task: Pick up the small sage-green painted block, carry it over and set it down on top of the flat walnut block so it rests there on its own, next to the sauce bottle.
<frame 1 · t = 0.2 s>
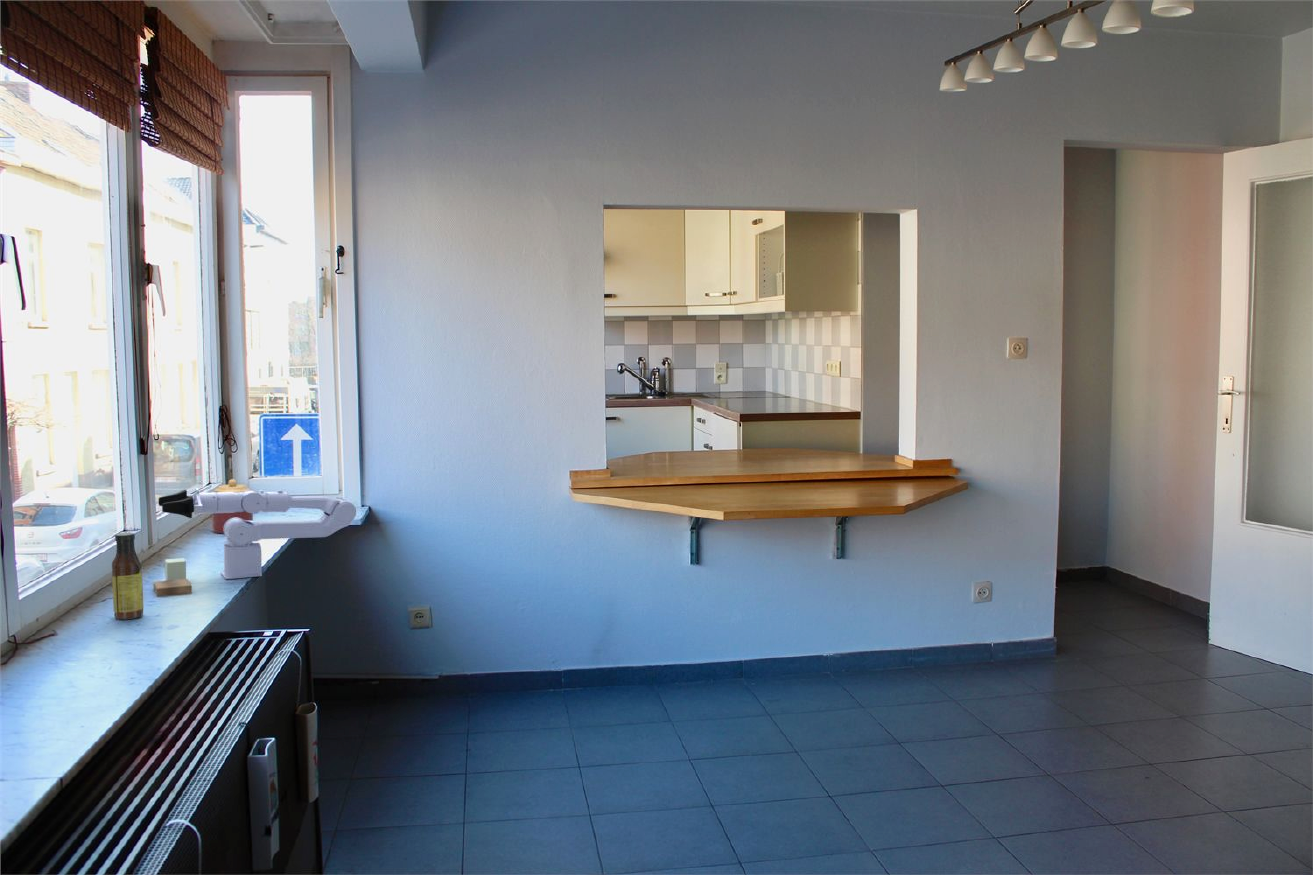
hand: (160, 504, 267), 21 cm above the table, tool horizontal, fingers open, 7 cm apart
canister: (232, 531, 341), on the table
sauce bottle: (128, 617, 236), on the table
walnut base block: (172, 593, 260), on the table
sage block: (175, 582, 270), on the table
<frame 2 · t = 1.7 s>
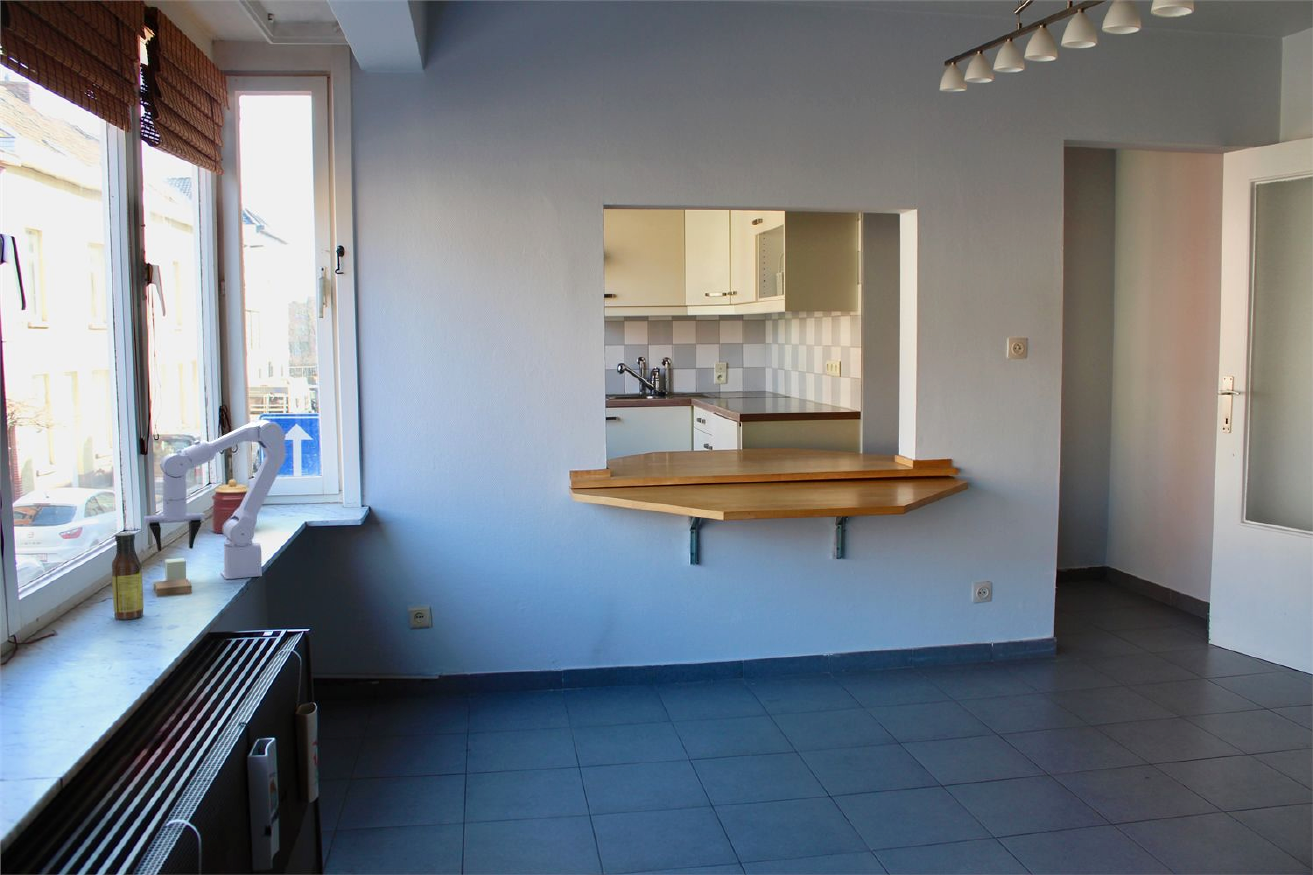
hand: (175, 549, 269), 9 cm above the table, tool pointing down, fingers open, 7 cm apart
nothing on the table moved.
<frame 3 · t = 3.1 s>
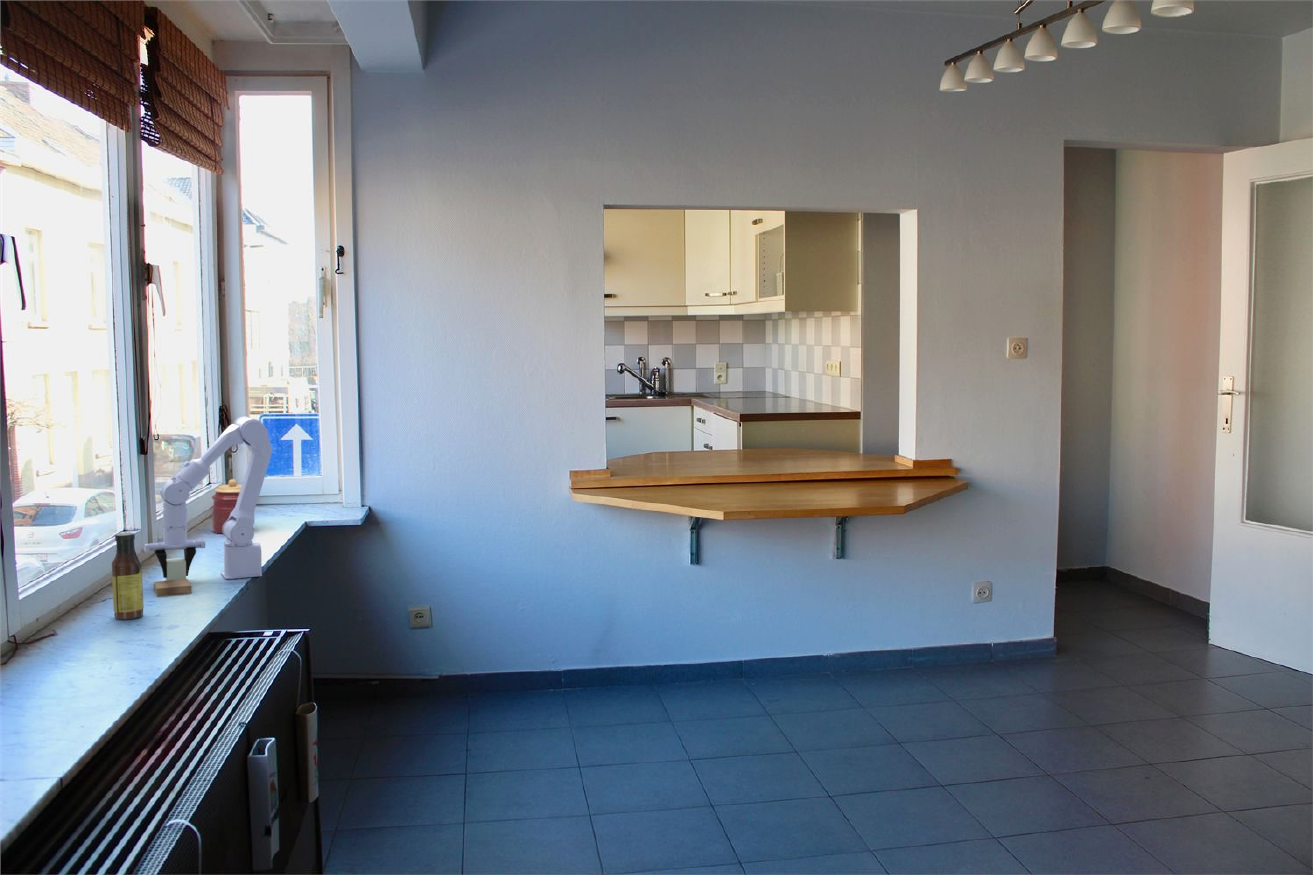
hand: (175, 576, 270), 2 cm above the table, tool pointing down, fingers closed on sage block, 4 cm apart
sage block: (175, 582, 270), on the table, touching gripper
everything else where it was.
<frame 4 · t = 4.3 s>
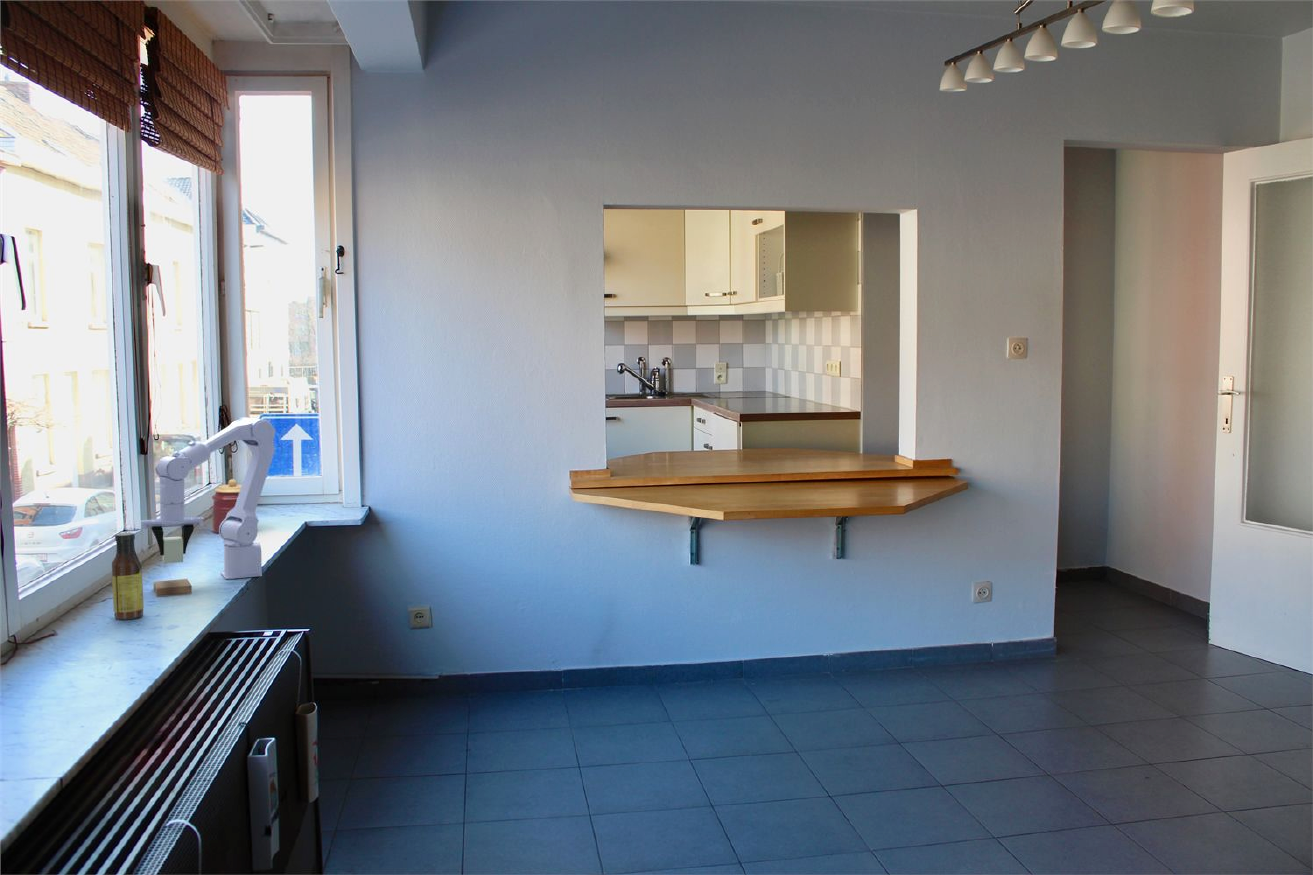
hand: (172, 553, 263), 9 cm above the table, tool pointing down, fingers closed on sage block, 4 cm apart
sage block: (172, 561, 264), point 7 cm above the table, touching gripper
everything else where it was.
when the fingers open (5 cm above the table, at t = 5.8 s): sage block stays where it is, resting on walnut base block.
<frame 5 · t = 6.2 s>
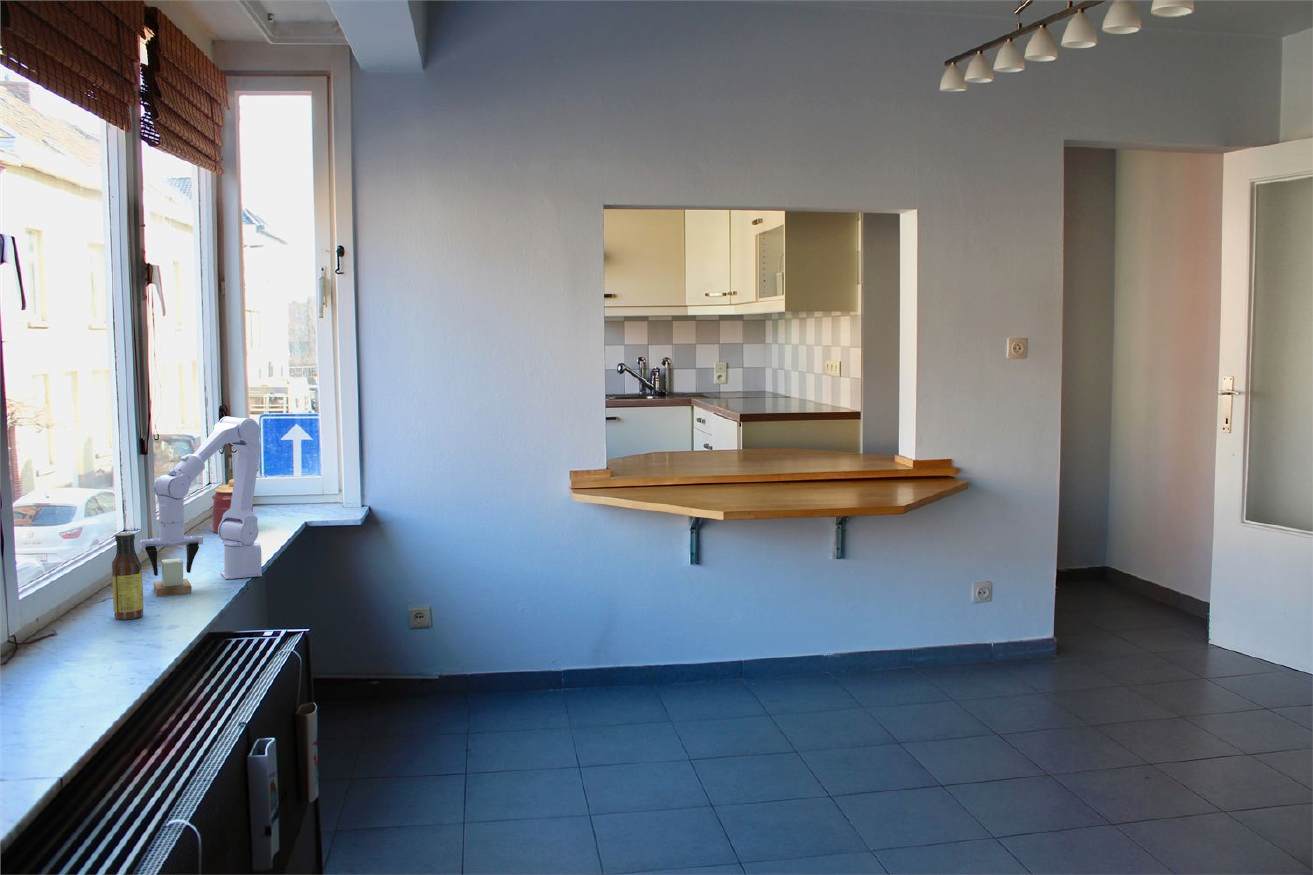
hand: (172, 573, 260), 5 cm above the table, tool pointing down, fingers open, 7 cm apart
walnut base block: (172, 593, 260), on the table, touching sage block
sage block: (172, 583, 260), point 2 cm above the table, touching walnut base block
everything else where it was.
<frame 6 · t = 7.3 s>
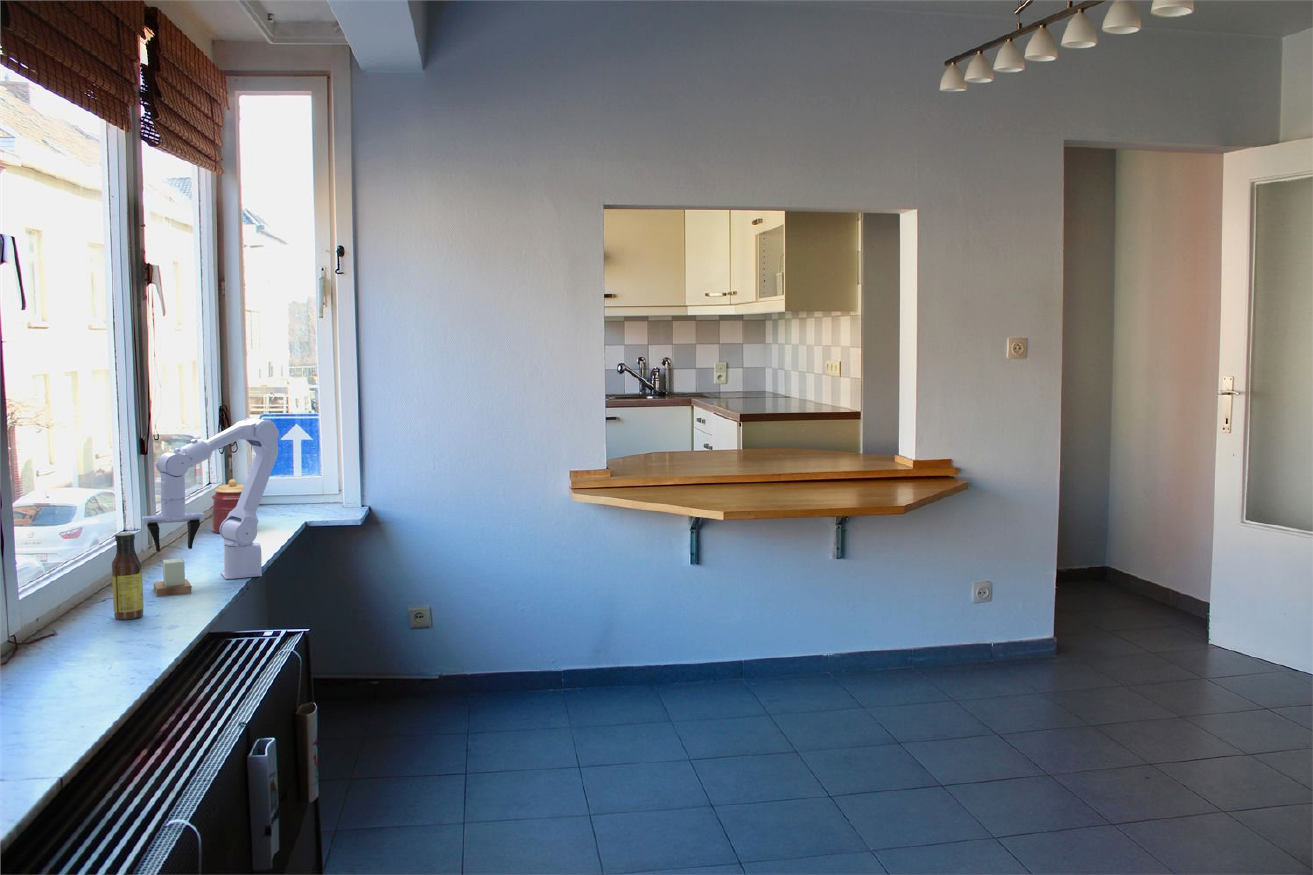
hand: (174, 549, 265), 10 cm above the table, tool pointing down, fingers open, 7 cm apart
nothing on the table moved.
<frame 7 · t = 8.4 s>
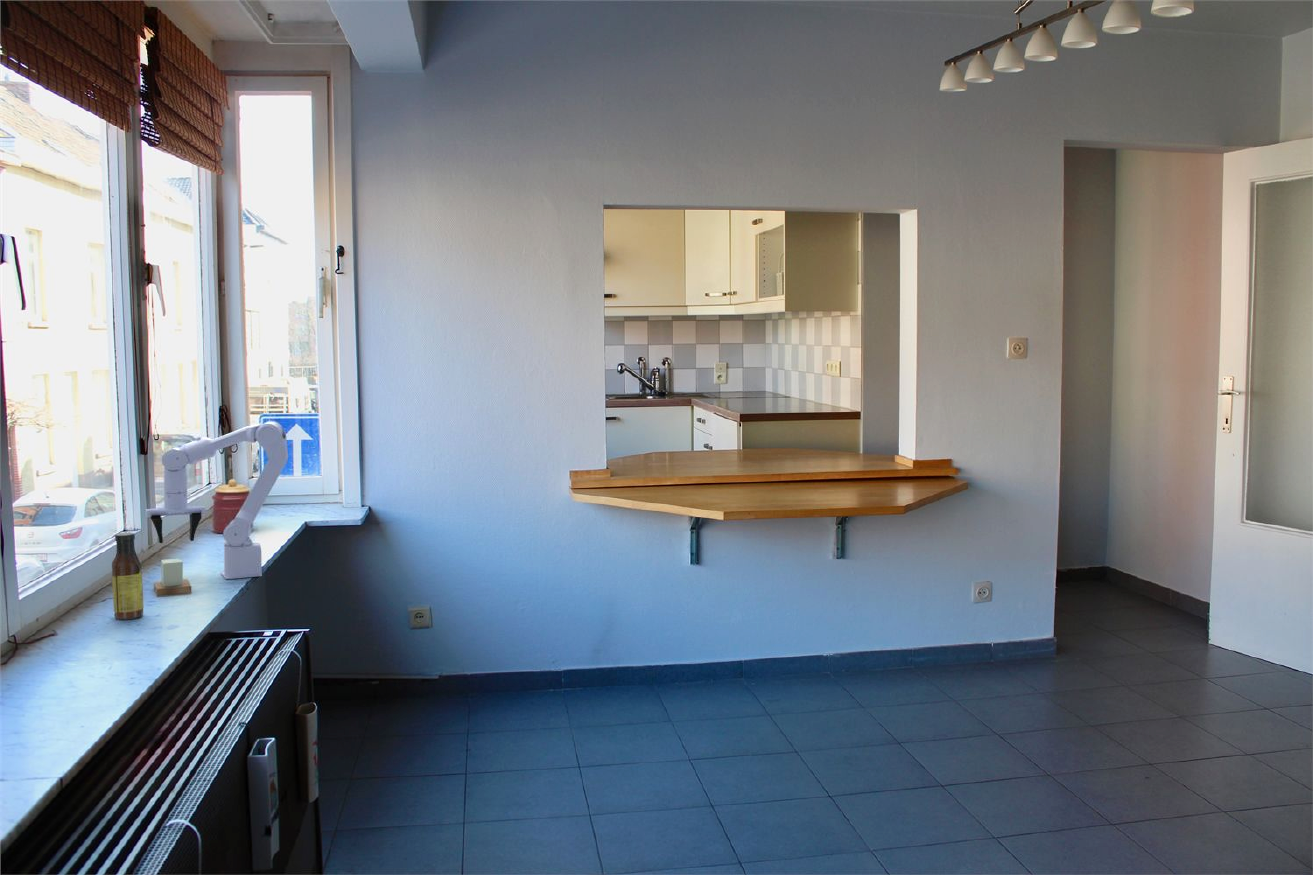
hand: (176, 541, 274), 10 cm above the table, tool pointing down, fingers open, 7 cm apart
walnut base block: (172, 593, 260), on the table
sage block: (172, 583, 260), point 2 cm above the table
everything else where it was.
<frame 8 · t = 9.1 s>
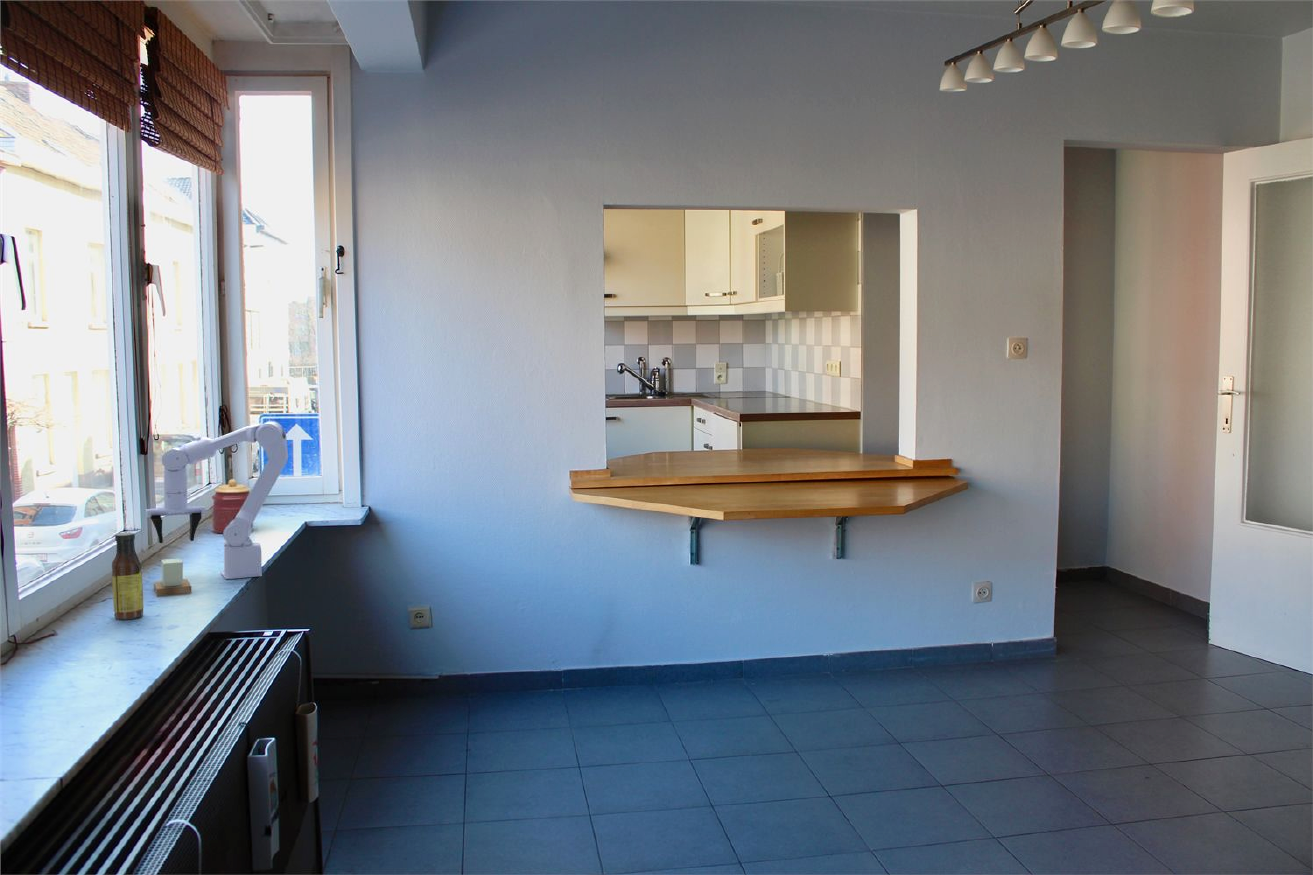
hand: (176, 541, 274), 10 cm above the table, tool pointing down, fingers open, 7 cm apart
nothing on the table moved.
at the end: sage block 0.1 cm off-centre on the walnut base block, point 2.5 cm above the walnut base block's base; sage block tilted 0°; sage block touching nothing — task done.
